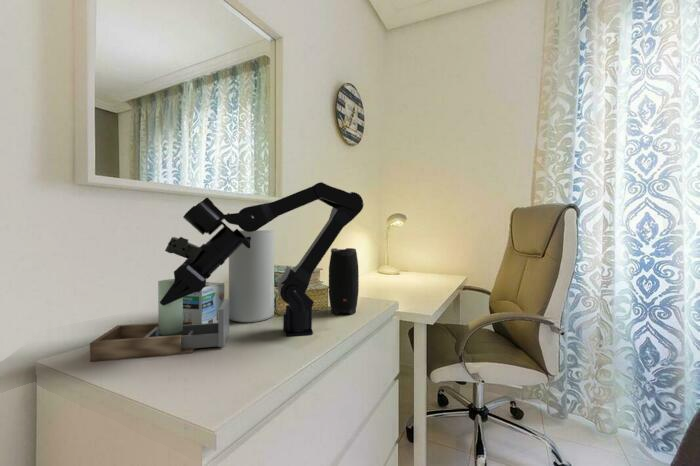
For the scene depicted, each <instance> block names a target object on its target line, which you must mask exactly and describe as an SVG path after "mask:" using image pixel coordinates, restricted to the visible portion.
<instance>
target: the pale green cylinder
mask: <svg viewBox="0 0 700 466" xmlns="http://www.w3.org/2000/svg"><path fill="white" fill-rule="evenodd" d="M174 282H175V278H169V279H162V280H159V281H157V287H158V289H157V290H158V291H157V294H158V295H157V296H158V307H157V308H158V313H157V314H158V323H159V334H163V335H167V334H174V333H178V332H181V331H182V330H183V297H182V298H180V299H178V300H176V301H173V302H171V303H169V304H167V305H164V306H163V305H162V304H160V301H161V300H162V298H163V297H164V296H165V294H166V293H167V292H168V290H169V289H170V288H171V286H172V285H173V283H174Z"/></svg>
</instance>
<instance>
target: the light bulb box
mask: <svg viewBox="0 0 700 466" xmlns="http://www.w3.org/2000/svg"><path fill="white" fill-rule="evenodd" d="M224 300H225V282H213V281H212V282H210V281H209V282H208V281H206V286H205V287H204V288H203V289H202V290H201V291H200V292H199V293H198V292H194V293H192V294H189V295H187V296H185V297H183V321H193V324H206V323H218V310H219V308H220V306H221V305H222V303H223V301H224Z"/></svg>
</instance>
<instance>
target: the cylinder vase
mask: <svg viewBox="0 0 700 466" xmlns="http://www.w3.org/2000/svg"><path fill="white" fill-rule="evenodd" d="M231 230H232V231H233V232H234V231H235V230H236V229H235V230H233V229H231ZM238 230H239V231H240V232H241V233H242V234H243V235H244V236H245V237H251V240H250V246H251V247H250V248H247V247H246V246H245V245H244V244H242V245H241V246H240V247H239V248H238V249H237V250H236V251H234V252H233V253H232V254H231V255H230V256H229V257H228V299H229V320H231V321H233V322H237V323H257V322H263V321H265V320H266V321H267V320H269V319H270V318H273V316H274V314H275V230H259V229H258V230H256V231H253V232H247V231H244V230H242V229H241V230H240V229H238Z"/></svg>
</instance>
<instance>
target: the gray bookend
mask: <svg viewBox="0 0 700 466" xmlns="http://www.w3.org/2000/svg"><path fill="white" fill-rule="evenodd" d="M229 334H230V318H229V298H227V299H226V298H224V301H223V303H222V305H221V306H220V308H219V310H218V323H206V324H190V325H183V330H182V331H181V332H178V333H174V334H167V335H163V334H159V327H155V328H154V329H153V330H152V331H151V332H150V333H148V334H147V335H146V336H145V337H159V336H173V335H181V349H191V348H195V349H201V348H202V349H204V348H212V347H213V348H214V347H218V348H223V347H224V346H225V344H226V341H227V339H228V336H229Z"/></svg>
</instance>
